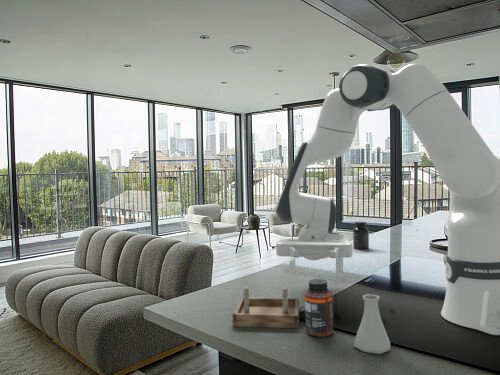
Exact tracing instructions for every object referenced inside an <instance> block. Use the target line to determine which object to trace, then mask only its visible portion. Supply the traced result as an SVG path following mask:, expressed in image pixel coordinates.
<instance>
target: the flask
mask: <svg viewBox="0 0 500 375" xmlns="http://www.w3.org/2000/svg"><path fill="white" fill-rule="evenodd" d="M362 300H363V302H364V304H363V305H364V307H363V308H364V309H363V314H362V315H363V316H362V317H361V322H360V324H359V327H358V330H357V332H356V335H355V338H354V342H353V346H352V347H353V348H356V349H358V350H359V351H362V352H364V353H369V354H379V355H381V354H384V353H386V352H389V351H391V341H390V339H389V337H388V333H387V331H386V329H385V326H384V323H383V320H382V318H381V315H380V309H379V301H380V295H377V294H371V293H370V294H369V293H367V294H363V296H362Z"/></svg>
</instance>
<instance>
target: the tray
mask: <svg viewBox="0 0 500 375" xmlns="http://www.w3.org/2000/svg"><path fill="white" fill-rule="evenodd" d="M281 290H282V292H281V293H282V294H281V295H282V296H281V297H250V288H249V287H243V296H242V297H240V299H239V301H238V304H237V306H236V307H235V309H234V311H233V312H232V327H241V328H242V327H245V328H247V327H248V328H250V327H251V328H280V329H281V328H282V329H283V328H284V329H285V328H286V329H287V328H288V329H290V328H291V329H300V328H299V327H300V299H299V298H296V297H295V298H294V297H291V298H290V297H288V296H289V294H288V288H286V287H283V288H281Z"/></svg>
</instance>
